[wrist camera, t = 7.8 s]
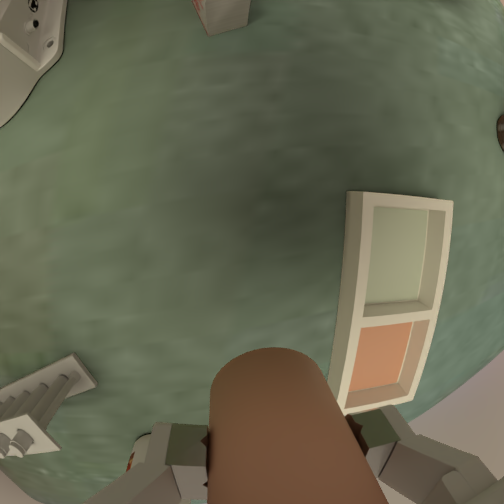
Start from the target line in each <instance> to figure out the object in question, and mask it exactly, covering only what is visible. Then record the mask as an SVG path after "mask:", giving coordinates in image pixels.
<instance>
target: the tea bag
mask: <svg viewBox="0 0 504 504" xmlns="http://www.w3.org/2000/svg"><path fill="white" fill-rule="evenodd" d="M192 2H193V4H194V7H195V9H196V11H197V13H198V15H199V17H200V19H201V22H202V24H203V26H204V28H205V30H206V33H207V35H208V37H210V36H213V35H216V34H219V33H223V32H226V31H230V30H233V29H237V28H241V27H245V26H247V22H248V15H249V9H250V2H251V0H192Z"/></svg>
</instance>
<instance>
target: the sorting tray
mask: <svg viewBox="0 0 504 504" xmlns="http://www.w3.org/2000/svg"><path fill="white" fill-rule="evenodd" d="M452 216H453V201H449V200H441V199H433V198H425V197H416V196H406V195H396V194H386V193H374V192H361V191H346V216H345V234H344V249H343V262H342V273H341V284H340V294H339V303H338V311H337V319H336V327H335V334H334V342H333V348H332V355H331V361H330V367H329V373H328V379H327V384H328V385H329V387H330V389H331V391H332V393H333V395H334V397H335V399H336V401H337V403H338V405H339V407H340V409H341V411H342V413H343V415H347V414H349V413H354V412H359V411H364V410H369V409H373V408H378V407H382V406H386V405H390V404H392V405H396V404H400V403H404V402H407V401H411V400H413V398H414V395H415V392H416V389H417V386H418V384H419V381H420V378H421V375H422V372H423V368H424V365H425V362H426V359H427V355H428V352H429V348H430V345H431V341H432V337H433V333H434V329H435V325H436V321H437V317H438V312H439V308H440V303H441V298H442V293H443V287H444V282H445V276H446V269H447V263H448V255H449V247H450V239H451V228H452Z"/></svg>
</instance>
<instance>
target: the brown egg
mask: <svg viewBox="0 0 504 504" xmlns="http://www.w3.org/2000/svg"><path fill="white" fill-rule="evenodd" d="M207 504H389V503H388V502H387V499H386V498H385V495H384V494H383V492H382V490H381V488H380V486H379V484H378V482H377V480H376V478H375V476H374V474H373V472H372V470H371V468H370V466H369V464H368V462H367V460H366V458H365V456H364V454H363V452H362V450H361V448H360V446H359V444H358V442H357V440H356V438H355V436H354V434H353V432H352V430H351V428H350V426H349V424H348V423H347V421H346V419H345V417H344V415H343V413H342V411H341V409H340V407H339V405H338V403H337V401H336V399H335V397H334V395H333V393H332V391H331V389H330V387H329V385H328V384H327V382H326V380H325V378H324V376H323V374H322V372H321V370H320V368H319V367H318V365H317V364H316V363H315V362H314V361H313V360H312V359H311V358H309V357H308V356H306V355H305V354H303V353H301V352H298V351H295V350H291V349H287V348H275V347H271V348H262V349H257V350H253V351H250V352H246V353H244V354H242V355H239V356H238V357H236V358H234V359H232V360H231V361H230V362H228V363H227V364H226V365H225V366H224V367H223V368H222V369H221V370H220V371H219V372H218V373H217V375H216V377H215V378H214V380H213V383H212V386H211V391H210V414H209V450H208V487H207Z"/></svg>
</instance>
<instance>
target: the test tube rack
mask: <svg viewBox="0 0 504 504" xmlns="http://www.w3.org/2000/svg"><path fill="white" fill-rule="evenodd" d="M97 385H98V382H97V381H96V380H95V379H94V377H93V376H92V375H91V374H90V372H89V371H88V370H87V368H86V367H85V366H84V364H83V363H82V362H81V360H80V359H79V358H78V356H77V355H76V353H75V352H74V353H72V354H70V355H68V356H66V357H64V358H62V359H60V360H58V361H56V362H54V363H52V364H50V365H47V366H45V367H43V368H41V369H39V370H37V371H35V372H33V373H31V374H29V375H27V376H25V377H23V378H21V379H19V380H17V381H14V382H12V383H10V384H8V385H6V386H4V387H2V388H0V458H4V457H5V456H13V455H16V456H18V457H23V456H24V455H26V454H35V453H44V452H51V451H58V450H61V448H62V447H61V446H60V445H59V444H58V443H57V442H56V441H55V440H54V439H53V438H52V437H51V436H50V435H49V434H48V433H47V432H46V429H47V425H48V424H49V422H50V421H51V419H52V417H53V416H54V414H55V413H56V411H57V410H58V408H59V407H60V405H61V403H62V402H63V400H64V399H65V398H68V397H70V396H73V395H76V394H79V393H81V392H84V391H87V390H90V389H92V388H95V387H97ZM33 441H34V442H33Z"/></svg>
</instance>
